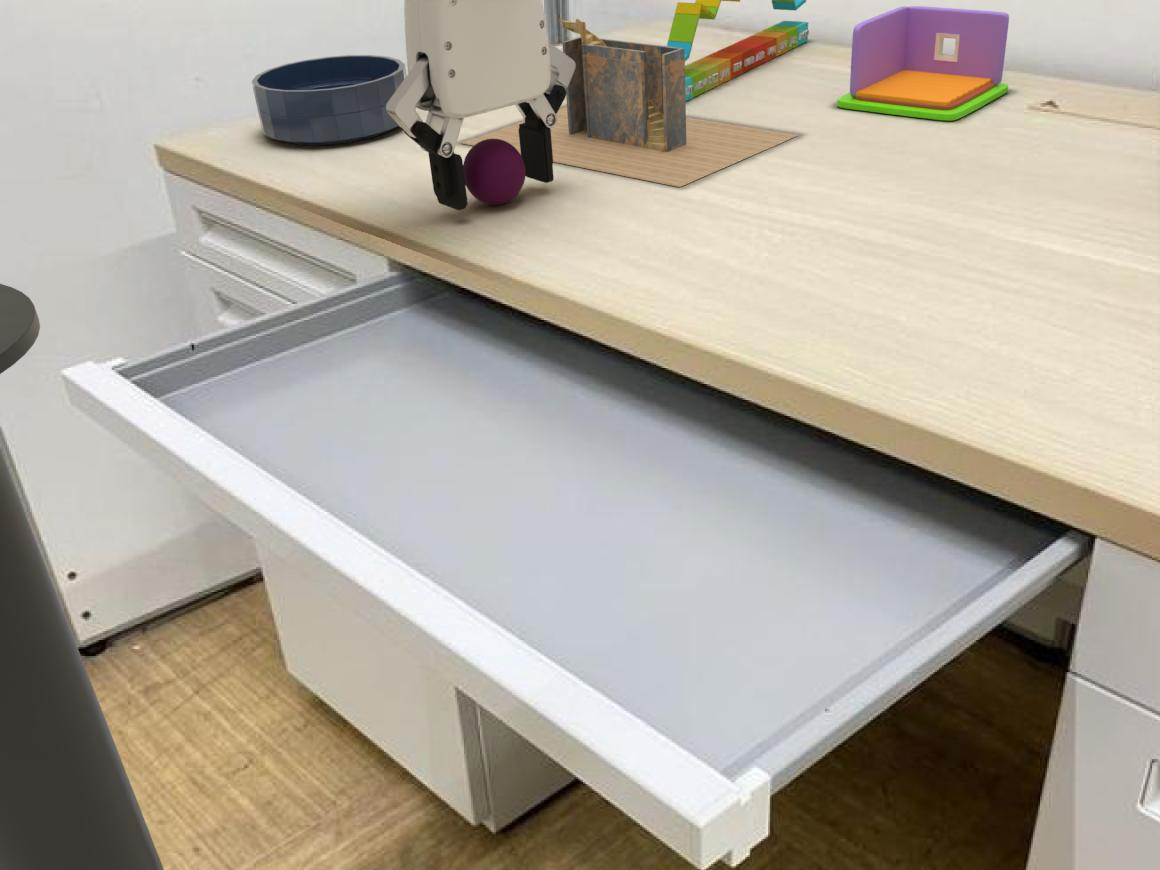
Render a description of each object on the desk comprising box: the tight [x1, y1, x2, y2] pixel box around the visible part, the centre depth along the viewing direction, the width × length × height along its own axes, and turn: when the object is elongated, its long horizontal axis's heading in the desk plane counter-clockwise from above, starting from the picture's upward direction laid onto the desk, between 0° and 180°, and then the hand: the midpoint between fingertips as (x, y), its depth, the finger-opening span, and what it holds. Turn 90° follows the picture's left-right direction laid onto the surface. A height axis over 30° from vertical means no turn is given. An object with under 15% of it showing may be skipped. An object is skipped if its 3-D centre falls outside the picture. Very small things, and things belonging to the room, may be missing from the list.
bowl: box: [251, 54, 408, 146], centre depth 116 cm, size 14×14×5 cm
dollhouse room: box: [836, 5, 1010, 122], centre depth 111 cm, size 12×12×7 cm
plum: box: [463, 139, 526, 206], centre depth 95 cm, size 5×5×5 cm
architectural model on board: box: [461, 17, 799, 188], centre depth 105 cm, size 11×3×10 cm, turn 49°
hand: (496, 190), depth 95 cm, fingers open, 7 cm apart
